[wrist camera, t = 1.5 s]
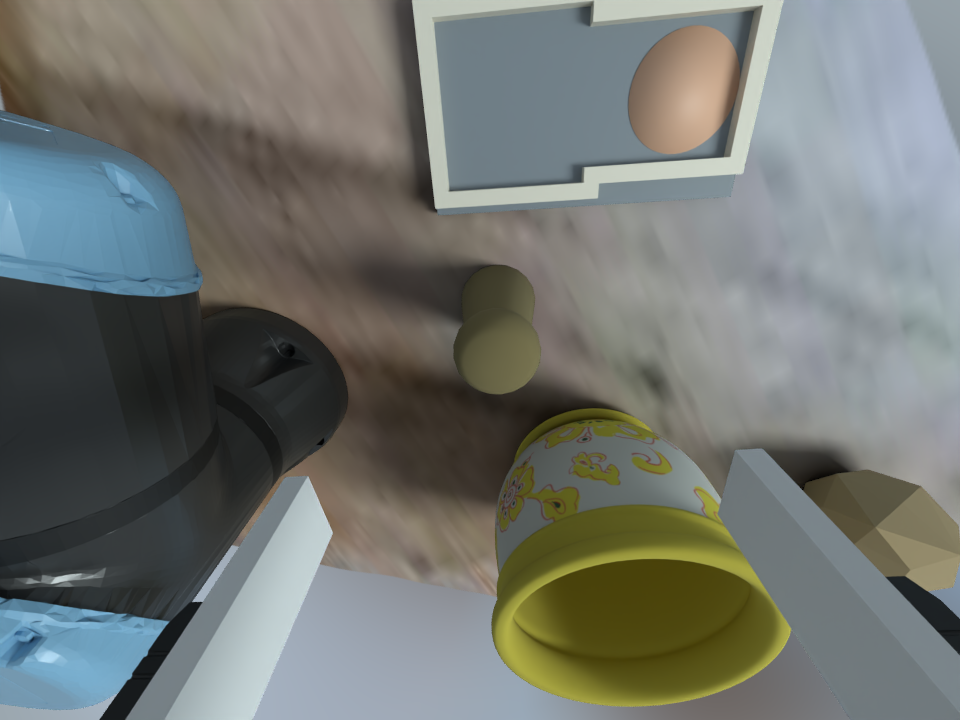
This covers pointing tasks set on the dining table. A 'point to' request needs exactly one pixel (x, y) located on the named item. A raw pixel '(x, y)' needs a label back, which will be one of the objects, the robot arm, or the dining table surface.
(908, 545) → the low-poly potato
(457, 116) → the grey shallow tray
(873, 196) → the dining table surface
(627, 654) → the flowerpot
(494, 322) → the cork
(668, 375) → the dining table surface
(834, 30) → the dining table surface
